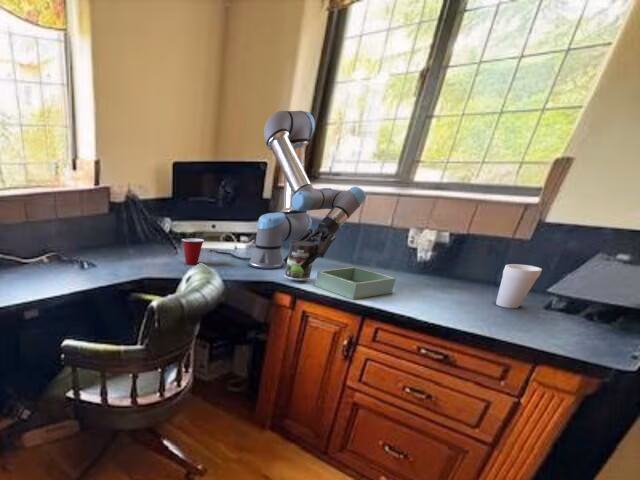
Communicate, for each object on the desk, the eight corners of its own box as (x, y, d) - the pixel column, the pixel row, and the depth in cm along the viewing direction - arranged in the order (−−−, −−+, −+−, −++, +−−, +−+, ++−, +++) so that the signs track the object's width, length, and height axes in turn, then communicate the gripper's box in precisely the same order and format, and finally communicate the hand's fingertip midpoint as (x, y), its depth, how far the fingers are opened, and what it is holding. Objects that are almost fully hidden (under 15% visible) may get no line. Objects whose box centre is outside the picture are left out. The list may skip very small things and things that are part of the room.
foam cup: (514, 311, 140) (531, 272, 134) (484, 303, 148) (499, 266, 142) (530, 306, 144) (548, 268, 137) (500, 299, 151) (515, 263, 145)
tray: (314, 285, 172) (317, 271, 169) (351, 280, 177) (354, 266, 174) (352, 299, 155) (356, 283, 152) (391, 293, 161) (396, 278, 158)
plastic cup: (206, 262, 212) (207, 237, 206) (197, 267, 204) (198, 241, 198) (186, 260, 217) (187, 236, 211) (177, 264, 209) (178, 239, 203)
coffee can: (308, 281, 172) (315, 246, 165) (282, 278, 177) (288, 244, 170) (311, 275, 180) (318, 241, 173) (286, 272, 185) (292, 239, 178)
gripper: (357, 233, 164) (316, 277, 168) (316, 224, 183) (280, 264, 186) (349, 219, 160) (308, 265, 164) (309, 212, 179) (272, 253, 182)
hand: (293, 265), depth 175 cm, fingers closed on coffee can, 10 cm apart
